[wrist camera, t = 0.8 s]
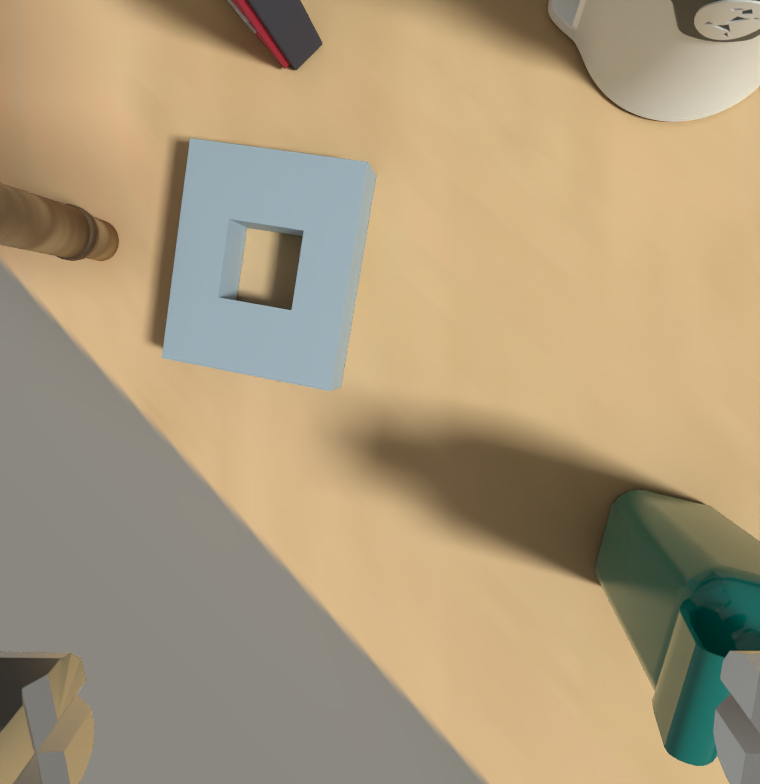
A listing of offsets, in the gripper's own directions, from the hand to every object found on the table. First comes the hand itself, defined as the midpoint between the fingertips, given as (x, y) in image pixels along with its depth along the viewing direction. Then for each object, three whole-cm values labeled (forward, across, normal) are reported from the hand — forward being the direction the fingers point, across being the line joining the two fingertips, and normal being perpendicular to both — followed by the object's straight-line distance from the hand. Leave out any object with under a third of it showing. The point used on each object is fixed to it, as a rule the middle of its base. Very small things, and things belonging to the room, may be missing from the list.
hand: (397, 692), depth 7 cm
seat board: (+42, +10, -4) cm, 43 cm away
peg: (+44, +25, -6) cm, 51 cm away
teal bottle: (+34, -19, +18) cm, 43 cm away
